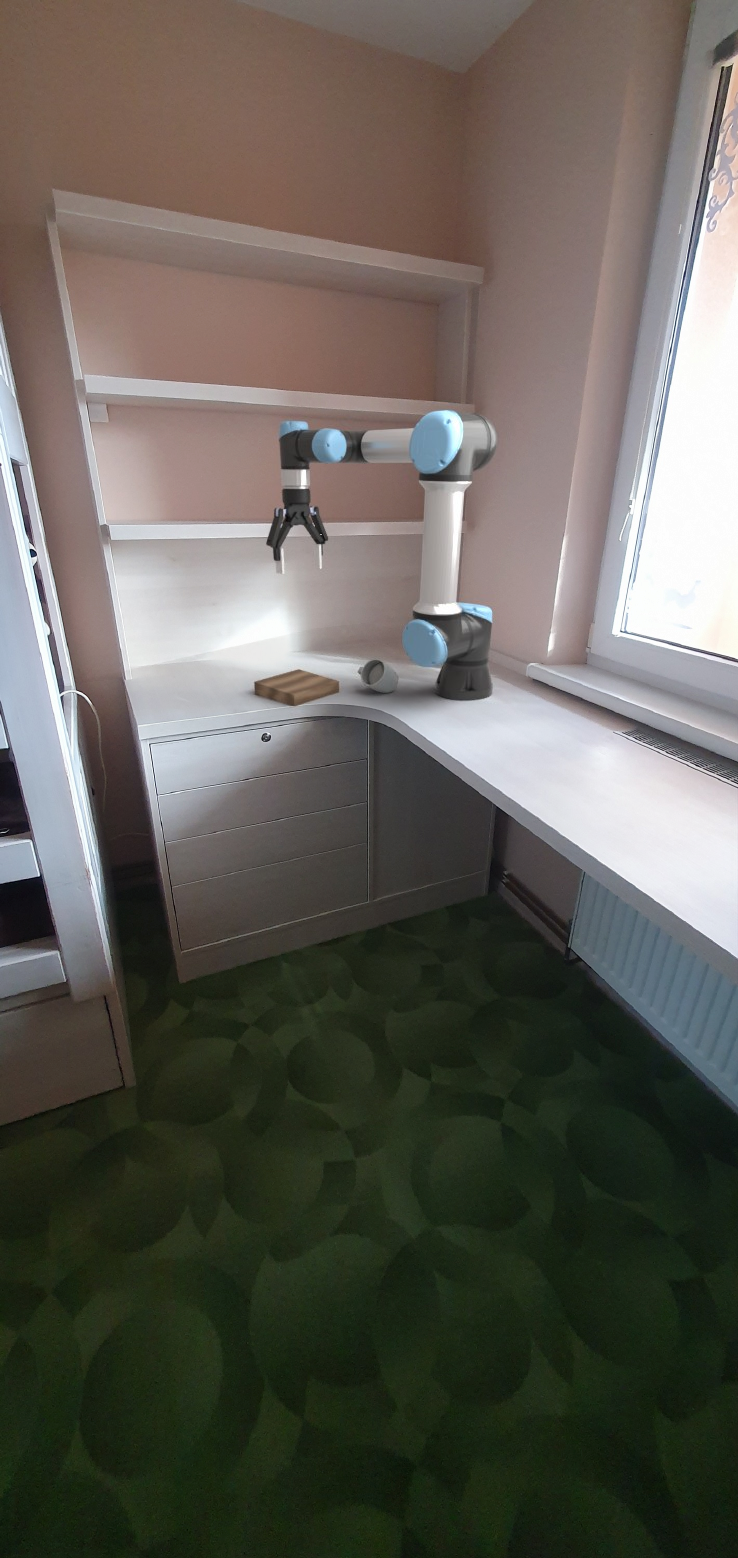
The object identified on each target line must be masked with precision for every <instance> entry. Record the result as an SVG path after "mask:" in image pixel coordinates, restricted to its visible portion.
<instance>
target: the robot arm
mask: <svg viewBox="0 0 738 1558" xmlns="http://www.w3.org/2000/svg"><path fill="white" fill-rule="evenodd" d="M278 428H279V431H278V432H279V433H278V442H279V456H280V457H279V459H280V474H281V475H280V476H281V486H282V487H283V488H282V490H281V496H282V499H281V501H282V503H283V508H280V507H274V510H273V520H272V523H271V525H270V528H269V529H270V530H269V532H268V536H267V538H266V542H265V543H266V544H265V545H266V546H267V547H270V548H272V554H273V560H274V561H275V573H276V574H279V575H284V574H285V558H284V557H285V555H284V554H285V553H284V548H282V545H283V544H284V542H285V540H286V538H287V537H288V534H289V533H290V531H291V529H292V528H293V527H294V526H303V527H304V528H305V529H306V531H307V532H308V534H309V535H310V537H311V538H312V540H313V542H314V543H312V559H313V560H312V562H313V569H320V570H321V569H322V568H323V567H322V566H323V565H322V564H323V562H322V561H323V560H322V559H323V558H322V556H323V554H324V551H323V548H324V547H323V545H325V544H326V542H328V541H329V536H328V534H327V531H326V529H325V525H324V524H323V521H322V518H321V514H320V508H319V506H317V505H314V506H313V505H310V504H311V502H312V501H311V489H310V488H309V487H310V486H311V472H310V468H311V467H310V464H312V463H315V464H349V463H350V464H371V463H372V464H373V463H375V464H379V463H380V464H384V463H385V464H387V463H389V464H392V463H393V464H394V463H395V464H397V463H401V464H402V463H403V464H404V463H409V464H410V463H411V464H412V463H413V467H415V469H416V470H417V471H418V483H419V484H420V485H421V487H423V489H424V502H423V503H424V505H423V507H424V509H423V524H422V525H423V529H422V547H421V548H422V549H421V551H422V552H421V568H420V569H421V570H420V587H419V588H420V589H419V591H420V592H419V601H418V602H417V603H416V604H415V605H414V606H413V607H412V618H411V619H412V620H410V621H409V622H408V623H407V625H406V626H405V627H404V628H403V631H402V634H401V641H402V643H401V644H402V646H403V647H402V648H403V650H404V652H405V654H406V655H407V656H408V657H409V660H411V662H413V663H414V664H416V665H417V666H418V667H422V668H433V667H438V666H441V665H442V666H441V667H440V671H439V673H438V676H437V678H436V681H435V688H434V689H435V690H434V692H435V694H437V695H438V696H440V697H442V698H445V699H449V700H454V701H461V702H462V701H465V702H467V701H479V700H484V699H488V698H490V697H491V696H492V695H493V689H494V685H493V680H492V676H491V672H490V671H491V670H490V667H489V658H490V657H489V656H490V648H491V647H490V646H491V638H492V637H491V636H492V627H493V626H492V625H493V623H494V622H493V610H492V609H491V607H490V606H489V607H488V606H486V605H482V604H476V603H468V602H457V595H458V581H459V571H460V570H459V569H460V568H459V566H460V556H461V542H462V541H461V540H462V527H463V513H464V500H465V499H464V498H465V491H466V490H467V488H468V487H470V486H471V485H472V483H473V473H475V472H477V471H480V470H482V469H484V468H485V467H487V466H488V465H489V464H490V463H491V461H492V460H493V458H494V457H495V455H496V452H497V449H498V441H499V440H498V433H497V430H496V428H495V425H494V424H493V423H492V421H491V420H490V419H489V418H487V417H486V416H484V415H482V414H480V413H475V412H474V413H473V412H472V413H471V412H462V411H456V410H447V409H445V410H435V411H431V412H429V413H426V415H425V414H424V416H423V417H422V418H420V420H419V421H418V422H417V423H416V424H415V427H412V428H391V429H373V430H370V429H369V430H343V429H341V430H340V429H336V428H328V427H326V428H321V429H319V428H318V429H309V424H308V422H306V421H302V420H301V421H300V420H299V421H298V420H290V421H288V420H285V421H282V422H280V423H279V427H278ZM314 525H315V526H314ZM320 534H322V535H320Z"/></svg>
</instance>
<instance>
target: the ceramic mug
mask: <svg viewBox="0 0 738 1558" xmlns="http://www.w3.org/2000/svg"><path fill="white" fill-rule="evenodd" d="M357 673H358V674H359V675H360V680H361V682H362V683H363V685H365V686H366V687H368V688H370V689H372V690H374V691H375V692H377V693H379V692H380V693H379V694H388V693H393V692H394V691H395V689H396V688H397V686H398V684H399V675H398V674H397V672H396V671H395V670H394V668H392V667H391V666H389V664H387V663H386V662H385V661H383V659H380V658H372V659H370V660H368V661H367V662H366V663H365V664H364V666H360V667H359V668H358V670H357Z"/></svg>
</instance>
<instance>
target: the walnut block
mask: <svg viewBox="0 0 738 1558" xmlns="http://www.w3.org/2000/svg"><path fill="white" fill-rule="evenodd" d="M253 684H254V685H253V686H254V695H256V696H258V697H262V698H266V699H268V700H271V701H275V702H278V703H282V704H284V705H289V706H291V707H297V706H300V705H303V704H307V703H309V702H313V701H316V700H318V699H323V698H324V697H328V696H331V695H334V694H337V693H339V692H340V681H339V680H337V679H335V678H334V679H333V678H330V677H326V676H323V675H320V674H317V673H313V672H309V671H306V670H304V669H303V670H302V669H295V670H291V671H288V672H284V673H281V674H278V675H273V676H270V677H266V678H263V679H259V680H256V681H254V682H253Z"/></svg>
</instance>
